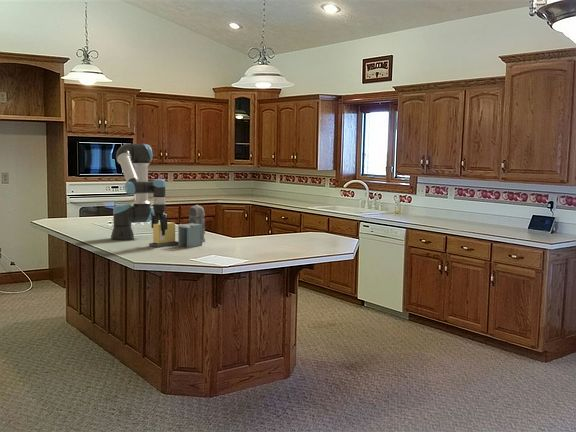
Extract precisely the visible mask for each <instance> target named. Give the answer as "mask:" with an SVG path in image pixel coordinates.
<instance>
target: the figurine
mask: <svg viewBox="0 0 576 432" xmlns="http://www.w3.org/2000/svg"><path fill="white" fill-rule="evenodd" d="M187 216H188V217H189V218H188V224H190V223H194V224H202V243H203V242H206V238H205V234H206V219H205V216H206V214H205V209H204V207H203V206H201V205H199V204H195V205H192V206H191V207H190V208H189V209H188V214H187Z"/></svg>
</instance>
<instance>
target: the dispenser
mask: <svg viewBox="0 0 576 432" xmlns="http://www.w3.org/2000/svg"><path fill="white" fill-rule="evenodd" d="M177 226H178V230H177V231H178V232H177V233H178V235H177V236H178V241H177V242H178V245H177V246H178V247H186V248H189V249H190V248H194V247H202V246H203V242H202V224H194V223H190V224H189V223H183V224H181V223H179V224H178V225H177Z"/></svg>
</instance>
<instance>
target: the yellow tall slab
mask: <svg viewBox="0 0 576 432" xmlns="http://www.w3.org/2000/svg"><path fill="white" fill-rule="evenodd" d="M152 229H153V230H152V231H153V233H152V240H153V241H152V243H158V244H159V243H166V242H173V241H176V222H173V221H172V222H171V221H170V222H169V221H167V229H166V230H165V235H164V240H163V241H160V230H161V224H160V222H159V223H158V224H153V228H152Z"/></svg>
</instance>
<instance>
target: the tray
mask: <svg viewBox="0 0 576 432" xmlns="http://www.w3.org/2000/svg"><path fill="white" fill-rule="evenodd" d="M148 246H149V247H151V246H152V247H153V248H157V247H158V248H163V247H164V248H165V247H172V246H178V241H177V240H175V241H173V242H166V243H159V244H158V243H153V242H149V244H148ZM158 248H157V249H158Z"/></svg>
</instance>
